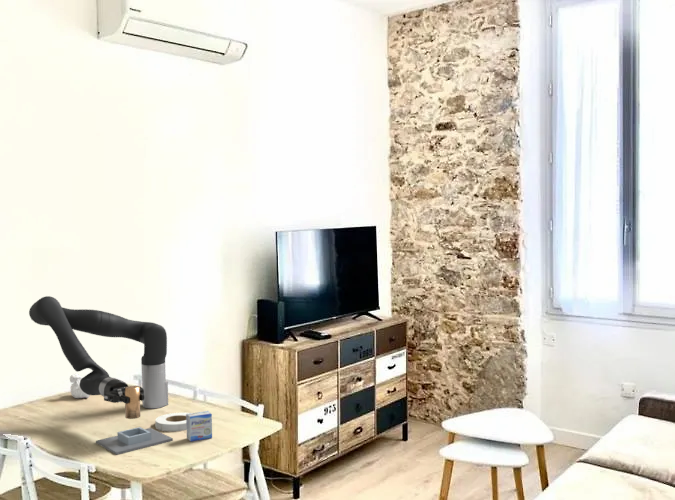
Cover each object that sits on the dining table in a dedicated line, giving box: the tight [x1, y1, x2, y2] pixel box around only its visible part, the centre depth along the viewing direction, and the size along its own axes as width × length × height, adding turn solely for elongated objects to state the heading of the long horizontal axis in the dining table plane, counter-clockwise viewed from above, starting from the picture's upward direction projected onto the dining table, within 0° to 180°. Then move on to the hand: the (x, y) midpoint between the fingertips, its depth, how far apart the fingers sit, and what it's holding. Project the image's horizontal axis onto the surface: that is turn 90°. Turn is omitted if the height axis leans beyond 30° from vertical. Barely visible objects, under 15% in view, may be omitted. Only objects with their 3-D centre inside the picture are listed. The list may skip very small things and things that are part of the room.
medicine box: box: [186, 410, 213, 443], centre depth 240 cm, size 8×4×9 cm, turn 117°
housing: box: [95, 426, 174, 456], centre depth 237 cm, size 20×16×3 cm
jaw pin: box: [124, 385, 141, 420], centre depth 236 cm, size 5×5×10 cm
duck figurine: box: [69, 373, 91, 399], centre depth 294 cm, size 12×8×11 cm
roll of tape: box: [154, 412, 192, 432], centre depth 255 cm, size 16×15×3 cm
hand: (135, 399), depth 234 cm, fingers closed on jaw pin, 4 cm apart
